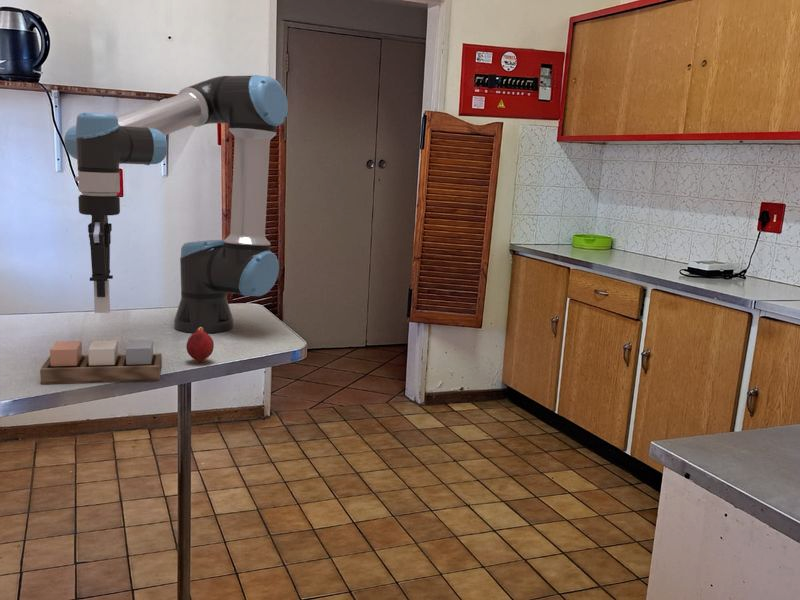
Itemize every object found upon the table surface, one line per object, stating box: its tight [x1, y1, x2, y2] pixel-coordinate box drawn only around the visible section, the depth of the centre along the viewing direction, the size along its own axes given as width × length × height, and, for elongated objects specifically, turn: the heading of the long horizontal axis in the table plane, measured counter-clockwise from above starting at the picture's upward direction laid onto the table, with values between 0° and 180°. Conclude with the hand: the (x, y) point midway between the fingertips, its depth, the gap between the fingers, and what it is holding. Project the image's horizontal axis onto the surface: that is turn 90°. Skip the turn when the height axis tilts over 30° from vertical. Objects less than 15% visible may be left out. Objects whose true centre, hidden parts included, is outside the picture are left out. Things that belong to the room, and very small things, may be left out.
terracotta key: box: [49, 340, 83, 366], centre depth 149 cm, size 5×7×3 cm
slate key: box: [125, 339, 154, 365], centre depth 153 cm, size 5×7×3 cm
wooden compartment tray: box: [39, 353, 163, 385], centre depth 151 cm, size 22×10×3 cm, turn 105°
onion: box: [185, 327, 215, 363], centre depth 163 cm, size 6×6×8 cm
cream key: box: [87, 340, 119, 365], centre depth 151 cm, size 5×7×3 cm
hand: (102, 311), depth 149 cm, fingers closed
